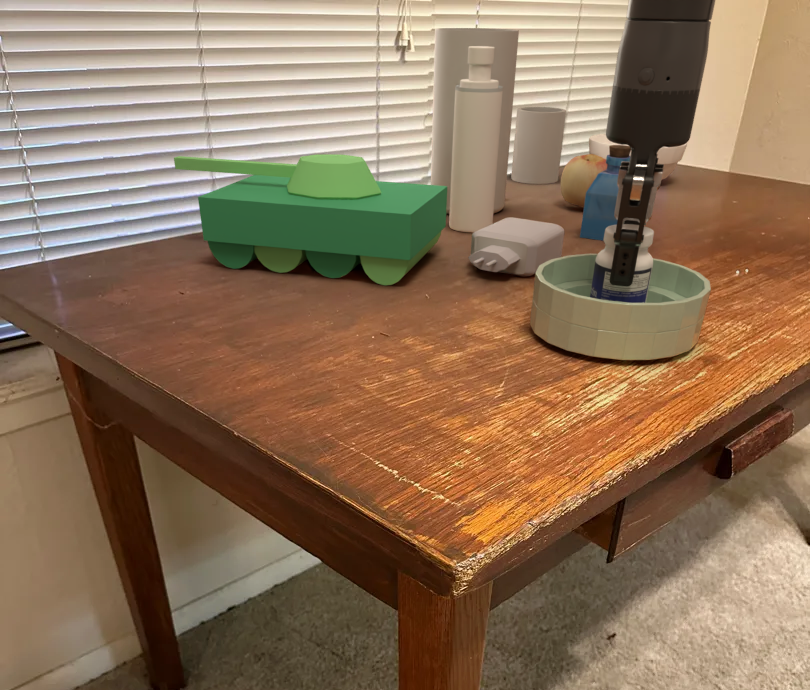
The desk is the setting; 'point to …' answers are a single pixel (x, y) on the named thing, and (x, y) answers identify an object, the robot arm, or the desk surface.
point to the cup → (538, 144)
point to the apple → (580, 177)
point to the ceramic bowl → (618, 311)
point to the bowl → (601, 148)
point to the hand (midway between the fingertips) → (622, 275)
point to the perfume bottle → (603, 195)
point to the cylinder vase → (446, 76)
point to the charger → (516, 246)
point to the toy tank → (318, 216)
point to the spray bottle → (475, 144)
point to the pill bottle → (641, 275)
